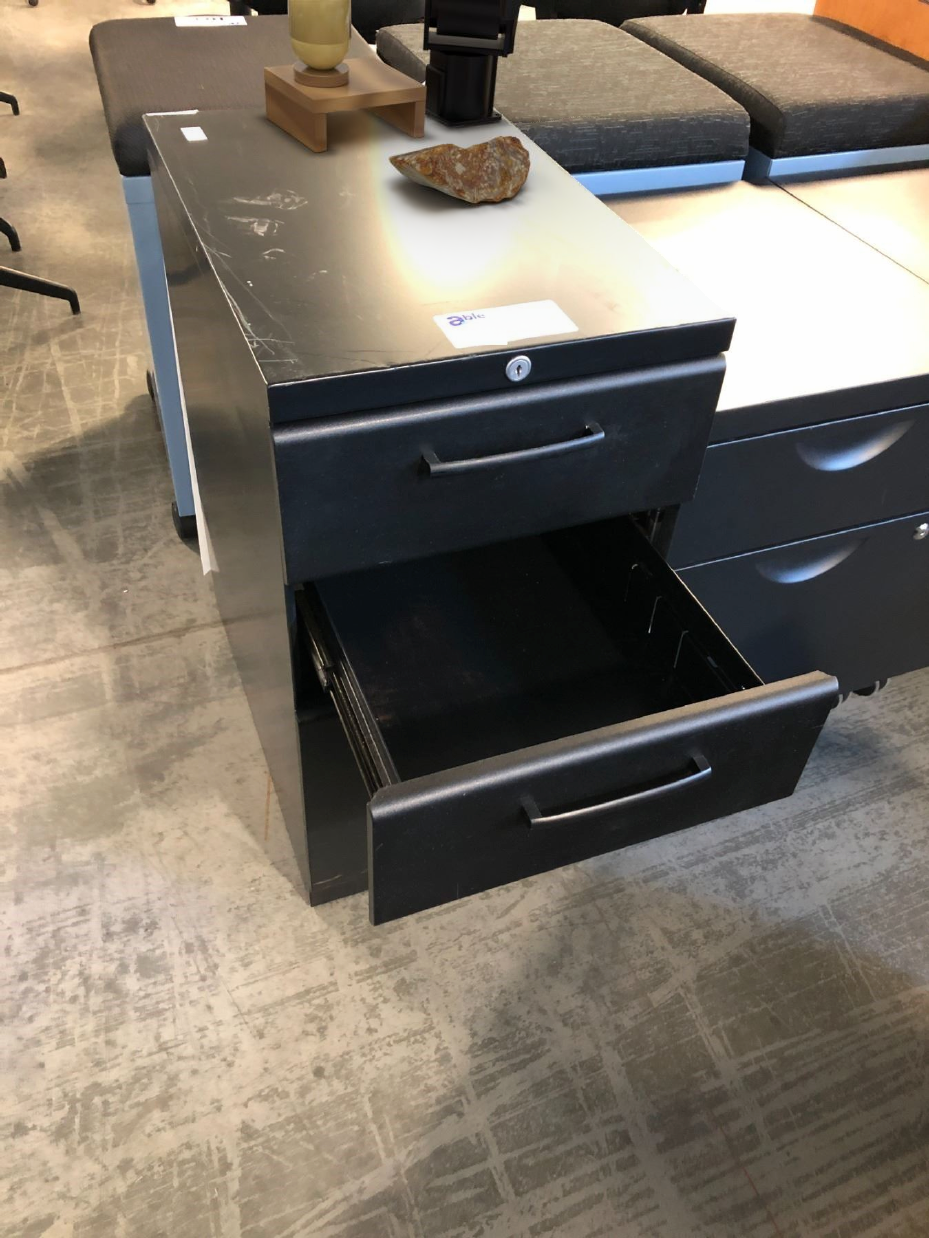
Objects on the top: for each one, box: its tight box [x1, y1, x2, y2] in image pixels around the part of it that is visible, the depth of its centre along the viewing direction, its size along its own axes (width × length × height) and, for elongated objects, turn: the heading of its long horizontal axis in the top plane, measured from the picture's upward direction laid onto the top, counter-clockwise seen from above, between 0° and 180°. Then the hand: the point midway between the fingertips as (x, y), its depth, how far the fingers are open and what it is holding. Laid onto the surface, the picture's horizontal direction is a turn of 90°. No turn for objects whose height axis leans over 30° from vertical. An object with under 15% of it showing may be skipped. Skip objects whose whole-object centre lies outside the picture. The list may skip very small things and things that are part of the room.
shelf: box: [263, 56, 427, 153], centre depth 93 cm, size 12×10×4 cm
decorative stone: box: [388, 135, 531, 204], centre depth 85 cm, size 10×4×15 cm
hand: (474, 5), depth 81 cm, fingers open, 9 cm apart
